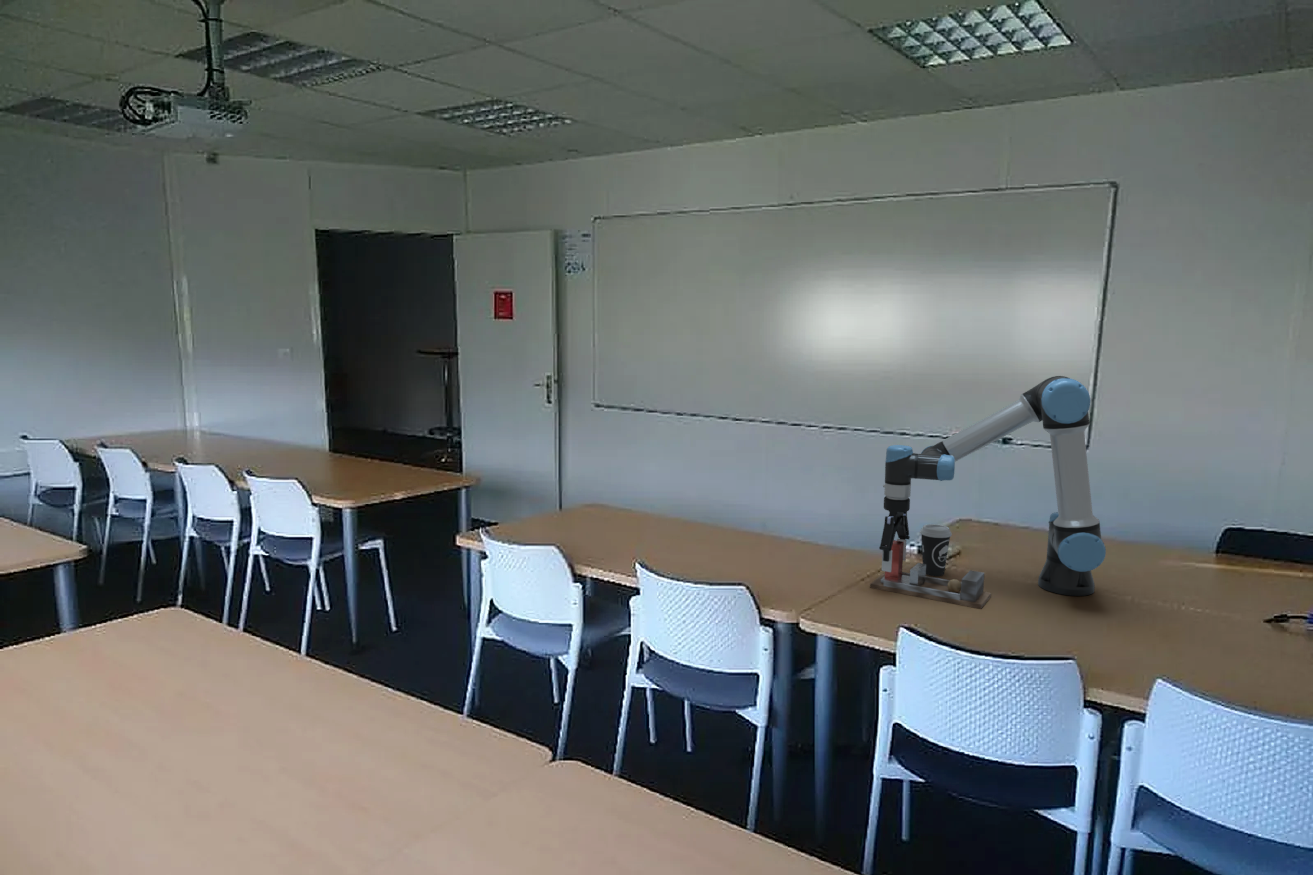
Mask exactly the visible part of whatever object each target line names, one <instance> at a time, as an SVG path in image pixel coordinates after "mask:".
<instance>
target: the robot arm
mask: <svg viewBox="0 0 1313 875" xmlns="http://www.w3.org/2000/svg"><path fill="white" fill-rule="evenodd" d="M1091 403H1092V402H1091V395H1090V392H1089V390H1088V389H1087V388H1086V386H1085V385H1084V384H1082V383H1081V382H1080V381H1079V380H1076V379H1075V378H1074V379H1073V378H1071V377H1067V376H1065V375H1064V376H1063V375H1054V376H1051V377H1049V378H1046V379H1044V380H1043V381H1041V382H1040V383H1038V384H1036V385H1035V386H1033V387H1032V388H1029V390H1027V391H1025V392H1023V393H1021V394H1020V396H1019V399H1018V400H1015V401H1013V402H1012V403H1010V404H1008V405H1006V406H1005V407H1003V408H1001V409H999V410H997V411H995V412H993V413H991V414H990V415H989V414H988V416H985V417H984V418H982V419H980V420H978V421H976V422H975V423H973V424H970V425H969V426H967V427H965V428H963V429H961V430H959V431H958V432H956V433H954V434H952V435H951V436H949V437H946V438H945V439H943V440H941V441H940V442H938V443H936V444H933V445H929V446H926V447H925V448H924V449H923V450H922V451H921V452H920V453H916V452H914V450H913V448H912V447H911V446H909V445H902V444H893V445H892V444H891V445H890V446H888V447H887V448H886V453H885V460H884V462H885V463H884V464H885V465H884V484H883V485H882V487H883V488H884V494H883V495H884V498H883V509H884V510H885V511H888V512H889V513H888V516H884V522H883V523H884V525H883V529H882V535H881V540H880V545H879V550H881V551H882V555H881V571H882V572H885V571H886V572H891V569H892V550H891V548H892V545H893V541H894V540H895V538H896V535H897V538H896V541H902V542H904V545H903V562H905V561H906V559H907V558H906V556H907V555H906V554H907V540H910V538H911V537H910V530H909V521H908V512H909V511H910V508H911V499H910V498H911V488H912V481H911V480H912V479H915V480H916V479H917V480H933V481H940V482H943V481H953V479H954V478H955V472H956V471H955V470H956V462H958V461H959V460H961V459H963V458H966V457H967V456H969V455H971V454H973V453H975V452H976V451H979V450H981V449H983V448H984V447H987V446H988V445H990V444H992V443H994V442H996V441H998V440H1000V439H1002V438H1004V437H1007V435H1010V434H1012V433H1014V432H1016V431H1017V430H1019V429H1021V428H1022V427H1026V426H1027V425H1029V424H1031V423H1032V422H1035V423H1040V422H1042V429H1043V430H1044V431H1046V432H1047V433H1048V434H1049V438H1050V447H1051V454H1052V455H1051V456H1052V467H1053V476H1054V485H1055V495H1056V503H1057V504H1056V505H1057V512H1051V514H1050V516H1049V520H1048V536H1047V537H1048V538H1047V548H1046V561H1045V563H1044V565H1043V566H1042V569H1041V571H1040V574H1039V576H1038V582H1037V583H1038V586H1039V587H1040V588H1042V589H1043V590H1045V591H1048V592H1050V593H1055V594H1058V595H1063V596H1064V595H1065V596H1073V597H1075V596H1076V597H1084V596H1089V595H1093V594H1094V592H1095V581H1094V578H1093V574H1092V571H1093V570H1095V569H1097V568H1098V567H1099V566H1101V565H1102V564H1103V562H1104V560H1105V558H1106V555H1107V552H1106V545H1105V543H1104V541H1103V540H1102V532H1101V524H1100V519H1099V518H1097V517H1096V516H1095V515H1094V514H1093V506H1092V504H1093V503H1092V496H1091V495H1092V494H1091V487H1090V486H1091V485H1090V475H1089V467H1088V465H1089V464H1088V457H1087V448H1086V447H1087V444H1086V436H1085V431H1086V429H1087V428H1088V427H1089V426H1090V424H1091V423H1090V414H1089V411H1090V407H1091ZM886 545H887V546H886Z"/></svg>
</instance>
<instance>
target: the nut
mask: <svg viewBox="0 0 1313 875" xmlns="http://www.w3.org/2000/svg"><path fill="white" fill-rule="evenodd" d="M947 587H948V589H949V591H950V592H953V593H958V592H960V591H961V580H958V579H956V578H953V579H950V581H949V582H948V585H947Z"/></svg>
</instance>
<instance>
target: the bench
mask: <svg viewBox="0 0 1313 875" xmlns="http://www.w3.org/2000/svg"><path fill="white" fill-rule="evenodd" d="M902 575H907V576H910V572H904V571H902ZM884 576H885V572H884V573H882V574H881V575H879V576H878V577H877V578H875V579H874V580H873V581H872V582H870V584H869V588H871V589H877V590H881V591H887V592H891V593H892V592H893V593H897V594H902V595H907V596H912V597H918V598H923V599H927V600H933V601H937V602H944V603H949V604H952V605H954V604H955V605H960V606H965V607H970V608H974V609H975V608H976V609H980V610H982V609H983V607H985V605H986V604H987V602H988V601H989V600H990V598H992V592H988V591H984V583H985V572H981V571H977V570H968V572H967V573H966V574H965V575H964V576H963V577H962V578H961V580H960V582H961V591H960V592H958V593H953V592H950V591H949V589H948V587H947V585H948V582H949V581H950V580H951V579H950V580H949V579H944V578H939V577H935V576H929V575H926V577H925V583H924V584H923V585H922V586H915V585H910V584H904V583H899V582H893V581H888V580H884V583H881V579H882V578H883V577H884Z"/></svg>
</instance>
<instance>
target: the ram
mask: <svg viewBox="0 0 1313 875" xmlns="http://www.w3.org/2000/svg"><path fill="white" fill-rule="evenodd" d="M903 545H904V542H902V541H897V539H896V540H895V539H894V541H893V545H892V548H891V550H892V569H891V572H886V571H884V573H885V576H884V577H883V578H882V579H881V583H884V580H888V581H893V582H899V583H904V584H910V585H915V586H922V585H923V584H924V583H925V577H926V576H927V575H926V564H923V562H917V563H916V564H915V565H914V566H913V567H911V568H910V570H909V573H910V576H907V575H902V572H903V566H904V565H903V562H904V561H903ZM886 546H887V545H886Z"/></svg>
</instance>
